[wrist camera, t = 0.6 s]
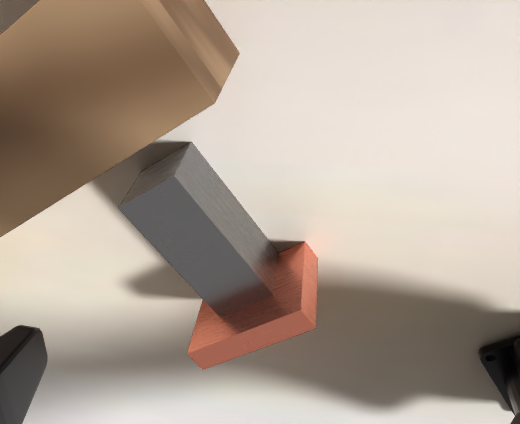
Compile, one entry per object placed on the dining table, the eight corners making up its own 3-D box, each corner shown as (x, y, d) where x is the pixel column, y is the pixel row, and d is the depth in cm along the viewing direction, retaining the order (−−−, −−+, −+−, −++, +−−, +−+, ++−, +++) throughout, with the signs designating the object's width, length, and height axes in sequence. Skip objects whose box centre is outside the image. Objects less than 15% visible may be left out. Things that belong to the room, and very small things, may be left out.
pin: (318, 257, 24) (315, 328, 21) (220, 299, 27) (202, 369, 23) (219, 124, 21) (195, 180, 17) (117, 185, 23) (77, 246, 20)
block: (239, 53, 19) (214, 103, 15) (50, 177, 23) (-9, 242, 19) (155, -72, 17) (100, -54, 13) (-35, 90, 21) (-122, 142, 17)
